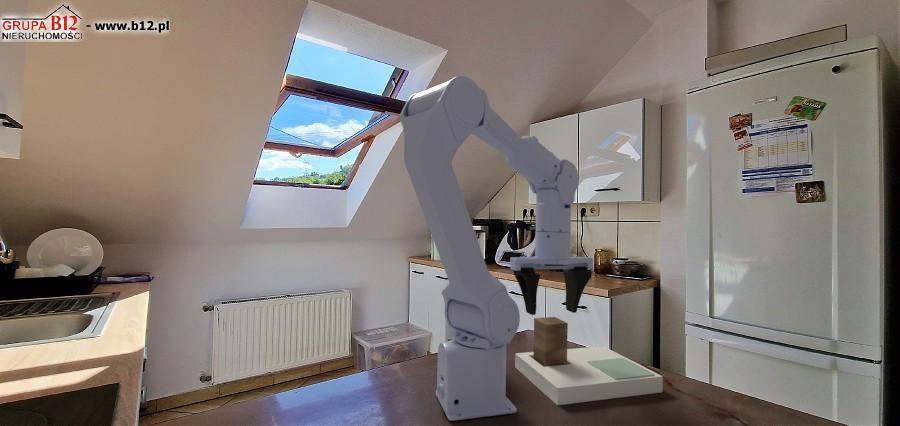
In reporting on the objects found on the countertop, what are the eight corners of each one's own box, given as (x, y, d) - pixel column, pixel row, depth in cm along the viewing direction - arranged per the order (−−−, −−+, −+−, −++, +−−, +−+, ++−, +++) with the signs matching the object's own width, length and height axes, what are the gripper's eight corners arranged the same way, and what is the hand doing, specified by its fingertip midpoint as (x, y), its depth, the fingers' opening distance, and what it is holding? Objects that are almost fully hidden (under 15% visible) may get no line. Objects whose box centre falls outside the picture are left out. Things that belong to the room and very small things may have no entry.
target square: (615, 379, 57) (615, 378, 57) (587, 362, 64) (587, 361, 64) (654, 375, 59) (654, 374, 59) (623, 359, 66) (623, 357, 66)
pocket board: (557, 405, 54) (557, 388, 54) (514, 367, 68) (515, 353, 68) (662, 392, 59) (662, 376, 59) (603, 358, 73) (603, 346, 73)
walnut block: (544, 380, 63) (545, 324, 63) (533, 370, 67) (534, 318, 67) (566, 377, 64) (567, 323, 64) (554, 368, 68) (554, 316, 68)
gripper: (524, 232, 60) (522, 320, 59) (605, 233, 63) (603, 316, 63) (505, 230, 66) (504, 309, 66) (579, 231, 70) (578, 306, 70)
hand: (551, 312), depth 65 cm, fingers open, 7 cm apart
